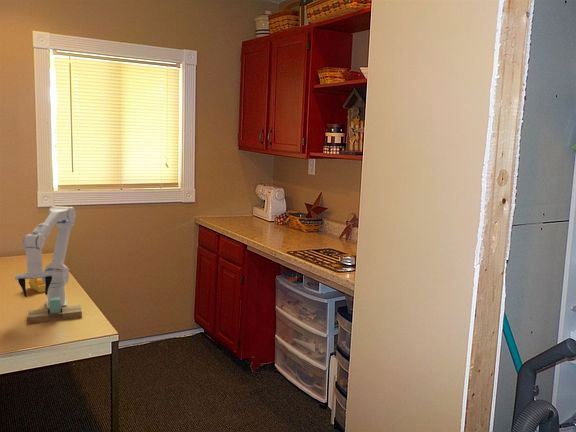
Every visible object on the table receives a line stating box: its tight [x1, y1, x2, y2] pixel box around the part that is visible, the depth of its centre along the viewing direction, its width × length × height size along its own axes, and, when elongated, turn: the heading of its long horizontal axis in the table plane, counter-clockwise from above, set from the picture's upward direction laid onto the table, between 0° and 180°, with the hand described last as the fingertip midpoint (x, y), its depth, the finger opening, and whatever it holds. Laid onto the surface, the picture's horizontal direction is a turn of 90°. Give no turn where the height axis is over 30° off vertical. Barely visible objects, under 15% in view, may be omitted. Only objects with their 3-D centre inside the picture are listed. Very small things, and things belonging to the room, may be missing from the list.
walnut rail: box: [27, 304, 83, 324], centre depth 215 cm, size 8×20×2 cm, turn 116°
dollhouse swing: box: [27, 278, 45, 294], centre depth 250 cm, size 10×10×9 cm
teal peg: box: [49, 297, 62, 314], centre depth 215 cm, size 4×4×8 cm
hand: (36, 295), depth 213 cm, fingers open, 7 cm apart
